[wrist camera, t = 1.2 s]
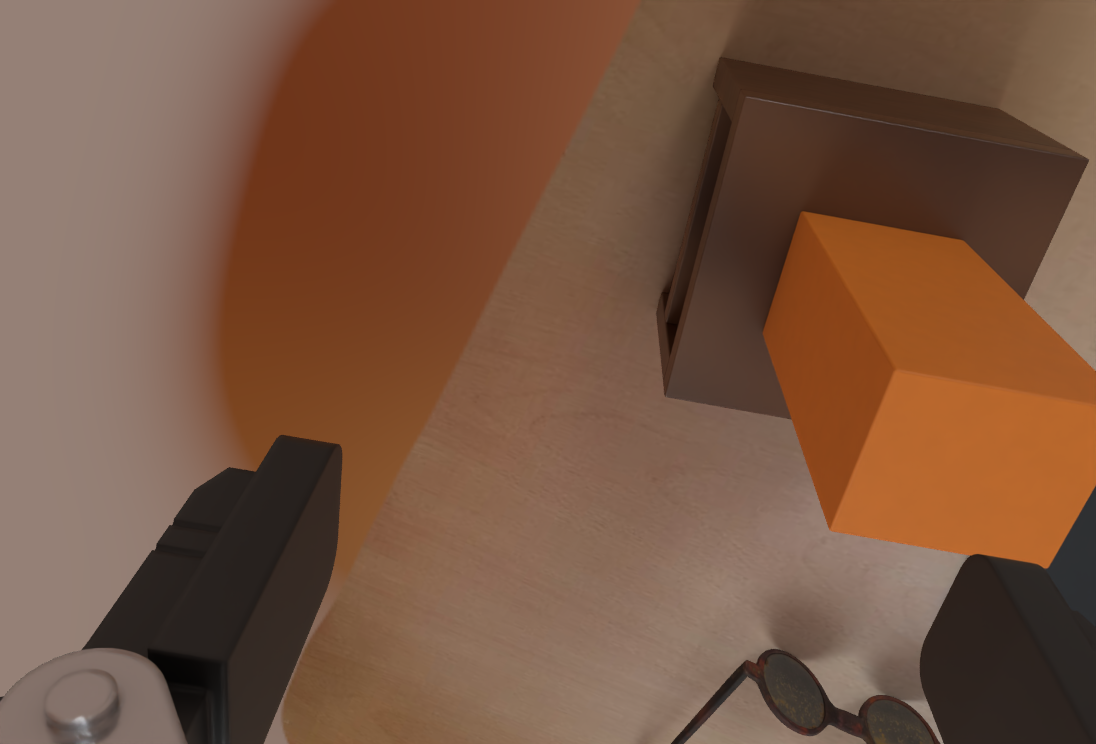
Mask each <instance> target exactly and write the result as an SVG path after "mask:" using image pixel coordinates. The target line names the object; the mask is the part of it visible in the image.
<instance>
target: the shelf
mask: <svg viewBox="0 0 1096 744" xmlns="http://www.w3.org/2000/svg"><path fill="white" fill-rule="evenodd" d="M713 87H714V89H715V91H716V93H717V95H718V97H719V100H718V104H717V108H716V112H715V116H714V120H713V124H712V128H711V132H710V136H709V140H708V143H707V147H706V151H705V155H704V159H703V163H702V167H701V171H700V175H699V179H698V183H697V187H696V191H695V195H694V199H693V203H692V207H691V210H690V214H689V218H688V222H687V226H686V230H685V234H684V238H683V242H682V246H681V250H680V254H679V258H678V262H677V266H676V270H675V274H674V278H673V281H672V285H671V289H670V293H669V294H668V293H661V296H660V300H659V304H658V308H657V312H656V316H657V325H658V335H659V345H660V354H661V364H662V374H663V384H664V394H665V397H669V398H674V399H680V400H686V401H691V402H697V403H703V404H708V405H714V406H720V407H725V408H731V409H737V410H742V411H748V412H754V413H759V414H765V415H771V416H776V417H782V418H788V419H791V416H790V413H789V410H788V407H787V404H786V401H785V398H784V395H783V392H782V389H781V386H780V383H779V381H778V378H777V375H776V372H775V369H774V366H773V363H772V360H771V357H770V354H769V351H768V348H767V345H766V342H765V339H764V336H763V330H764V327H765V323H766V320H767V317H768V314H769V311H770V308H771V304H772V301H773V298H774V295H775V292H776V289H777V286H778V282H779V279H780V276H781V273H782V270H783V267H784V263H785V260H786V257H787V254H788V251H789V248H790V245H791V241H792V238H793V235H794V232H795V229H796V226H797V222H798V219H799V216H800V213H801V212H802V211H805V212H810V213H816V214H821V215H827V216H832V217H838V218H843V219H849V220H854V221H860V222H865V223H871V224H876V225H882V226H887V227H893V228H898V229H904V230H909V231H915V232H920V233H926V234H931V235H937V236H942V237H948V238H953V239H958V240H963V241H965V242H966V243H967V244H968V245H969V246H970V247H971V248H972V249H973V250H974V251H975V252H976V253H977V254H978V255H979V256H980V257H981V258H982V259H983V260H984V261H985V262H986V263H987V264H988V265H989V266H990V267H991V268H992V269H993V270H994V271H995V272H996V273H997V274H998V275H999V276H1000V277H1001V278H1002V279H1003V280H1004V281H1005V282H1006V283H1007V284H1008V285H1009V286H1010V287H1011V288H1012V289H1013V290H1014V291H1015V292H1016V293H1017V294H1018V295H1019V296H1020V297H1021V298H1022V299H1023V300H1024V298H1025V296H1026V294H1027V292H1028V290H1029V287H1030V285H1031V283H1032V281H1033V279H1034V277H1035V275H1036V272H1037V270H1038V268H1039V266H1040V264H1041V262H1042V260H1043V257H1044V255H1045V253H1046V251H1047V249H1048V247H1049V245H1050V243H1051V240H1052V238H1053V236H1054V234H1055V232H1056V230H1057V228H1058V225H1059V223H1060V221H1061V219H1062V217H1063V215H1064V213H1065V211H1066V208H1067V206H1068V204H1069V202H1070V200H1071V198H1072V196H1073V193H1074V191H1075V189H1076V187H1077V185H1078V183H1079V181H1080V179H1081V176H1082V174H1083V172H1084V170H1085V168H1086V166H1087V164H1088V161H1089V159H1087V158H1085V157H1084V156H1082V155H1080V154H1078V153H1077V152H1075V151H1073V150H1071V149H1070V148H1068V147H1066V146H1064V145H1062V144H1061V143H1059V142H1057V141H1055V140H1054V139H1052V138H1050V137H1048V136H1046V135H1045V134H1043V133H1041V132H1039V131H1037V130H1036V129H1034V128H1032V127H1030V126H1028V125H1027V124H1025V123H1023V122H1021V121H1020V120H1018V119H1016V118H1014V117H1012V116H1011V115H1009V114H1007V113H1005V112H1003V111H1002V110H1000V109H996V108H991V107H985V106H980V105H974V104H969V103H964V102H958V101H953V100H948V99H942V98H937V97H931V96H926V95H921V94H915V93H910V92H904V91H899V90H894V89H888V88H883V87H878V86H872V85H867V84H861V83H856V82H851V81H845V80H840V79H835V78H829V77H824V76H818V75H813V74H808V73H802V72H797V71H792V70H786V69H781V68H775V67H770V66H765V65H759V64H754V63H748V62H743V61H738V60H732V59H727V58H722V57H721V58H720V59H719V63H718V67H717V71H716V75H715V79H714V83H713Z"/></svg>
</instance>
